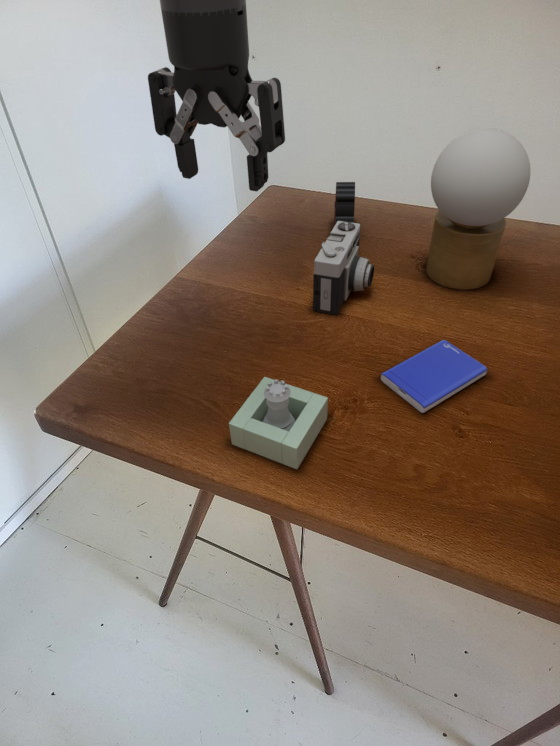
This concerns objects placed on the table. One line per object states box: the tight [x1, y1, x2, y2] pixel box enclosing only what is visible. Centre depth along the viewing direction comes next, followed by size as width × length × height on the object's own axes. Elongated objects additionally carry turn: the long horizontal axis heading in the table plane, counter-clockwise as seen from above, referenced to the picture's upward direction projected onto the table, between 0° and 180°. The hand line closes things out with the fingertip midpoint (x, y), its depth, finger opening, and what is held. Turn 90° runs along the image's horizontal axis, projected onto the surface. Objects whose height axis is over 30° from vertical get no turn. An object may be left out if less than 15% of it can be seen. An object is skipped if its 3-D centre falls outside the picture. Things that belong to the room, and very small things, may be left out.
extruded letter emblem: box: [333, 181, 356, 227], centre depth 100 cm, size 18×4×11 cm, turn 176°
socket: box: [228, 376, 329, 470], centre depth 66 cm, size 9×9×4 cm
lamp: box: [425, 127, 531, 291], centre depth 83 cm, size 15×14×25 cm
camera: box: [312, 221, 375, 316], centre depth 86 cm, size 14×8×10 cm, turn 160°
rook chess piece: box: [263, 379, 296, 432], centre depth 64 cm, size 4×4×8 cm
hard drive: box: [380, 339, 488, 414], centre depth 73 cm, size 2×8×12 cm
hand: (223, 182), depth 57 cm, fingers open, 8 cm apart
